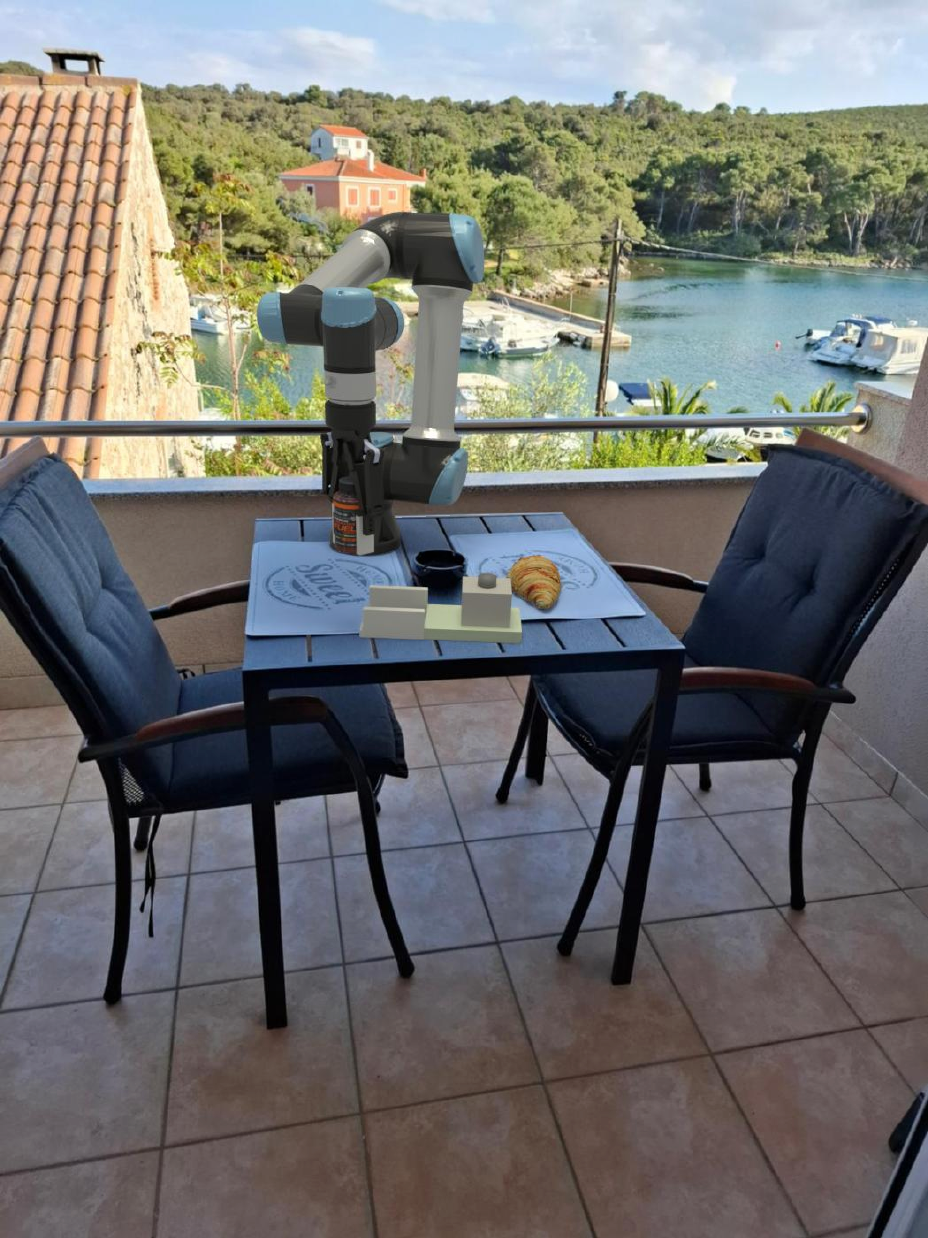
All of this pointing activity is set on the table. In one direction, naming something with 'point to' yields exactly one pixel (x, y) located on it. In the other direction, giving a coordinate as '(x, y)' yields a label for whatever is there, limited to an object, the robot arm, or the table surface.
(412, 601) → the cream block stand
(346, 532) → the supplement bottle
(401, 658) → the table surface
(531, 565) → the croissant
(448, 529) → the table surface
